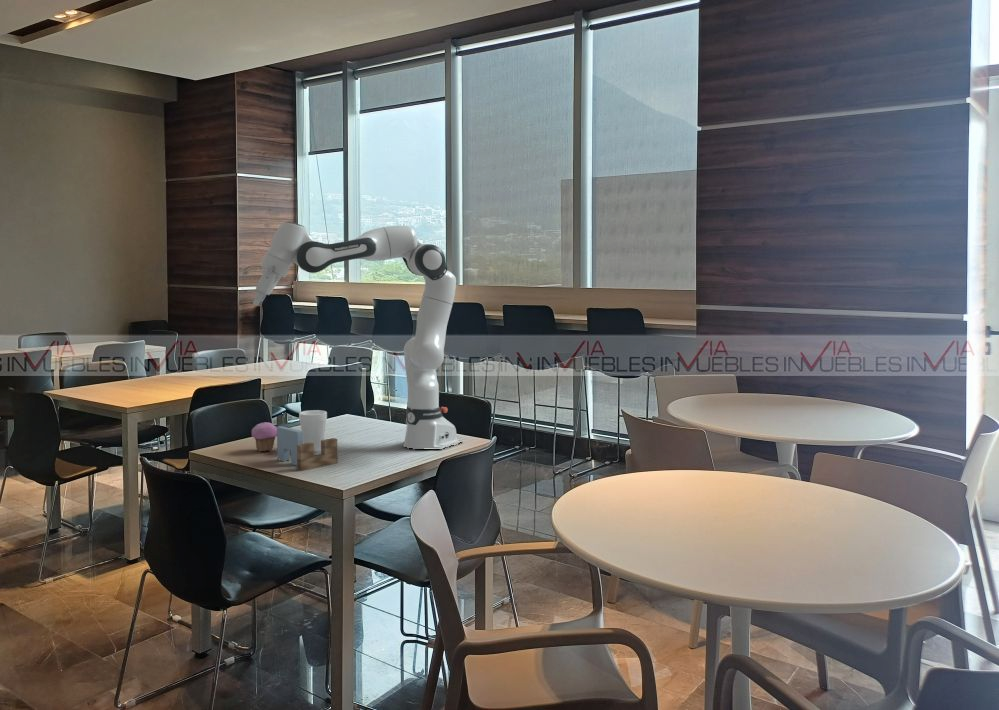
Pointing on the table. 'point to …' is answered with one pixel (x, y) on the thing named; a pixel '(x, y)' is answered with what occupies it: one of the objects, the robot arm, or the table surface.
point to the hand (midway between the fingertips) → (256, 305)
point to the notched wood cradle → (310, 460)
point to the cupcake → (264, 436)
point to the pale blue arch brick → (288, 443)
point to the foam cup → (313, 427)
